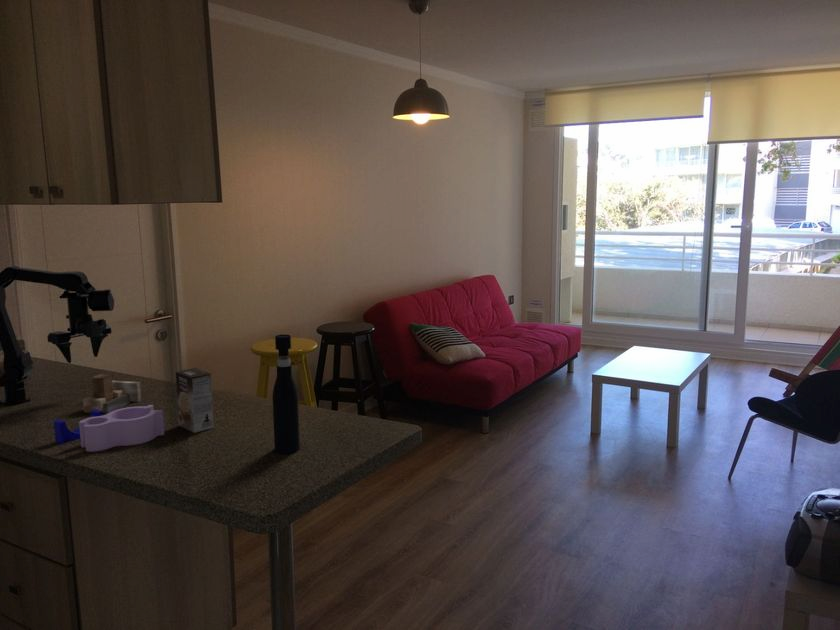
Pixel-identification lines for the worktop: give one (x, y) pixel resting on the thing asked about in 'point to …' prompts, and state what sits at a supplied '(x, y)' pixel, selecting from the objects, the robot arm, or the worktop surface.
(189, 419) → the coffee box
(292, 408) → the dark blue water bottle
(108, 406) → the stepped pillar cluster
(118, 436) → the purple double cup holder
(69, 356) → the robot arm
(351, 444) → the worktop surface
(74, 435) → the cable clip
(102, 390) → the plain brown block
